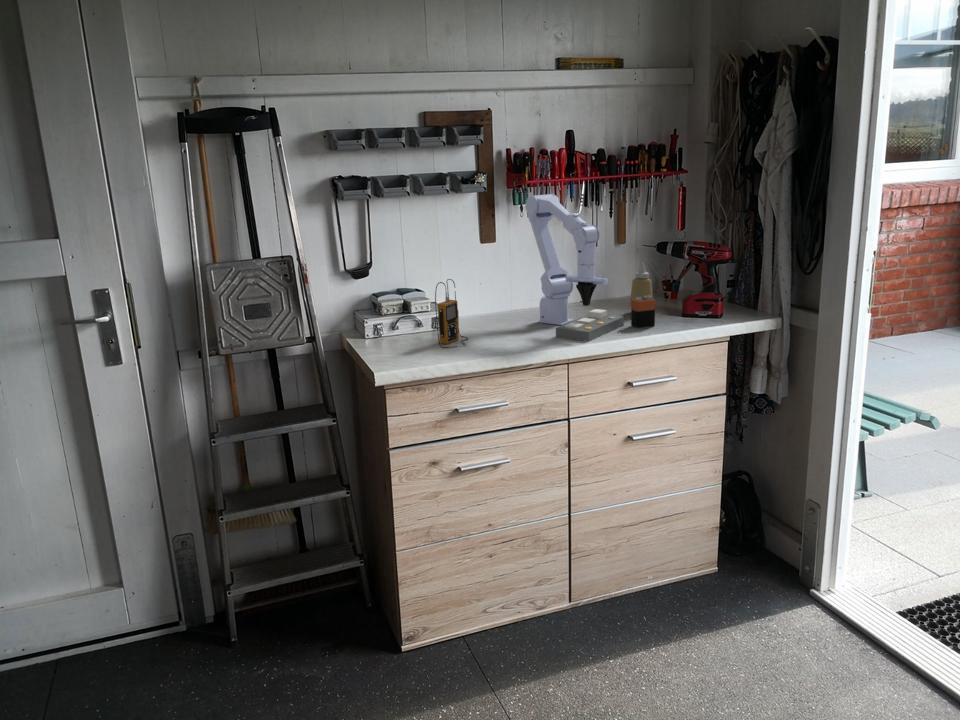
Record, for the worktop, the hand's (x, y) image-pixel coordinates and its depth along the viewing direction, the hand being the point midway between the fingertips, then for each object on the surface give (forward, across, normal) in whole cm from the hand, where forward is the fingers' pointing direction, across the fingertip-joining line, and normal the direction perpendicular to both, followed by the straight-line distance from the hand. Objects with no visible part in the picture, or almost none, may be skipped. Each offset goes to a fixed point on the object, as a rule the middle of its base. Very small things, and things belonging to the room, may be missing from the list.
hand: (586, 305), depth 255 cm
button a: (+8, 0, -8) cm, 11 cm away
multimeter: (+9, -27, -33) cm, 44 cm away
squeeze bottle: (+9, +5, +32) cm, 33 cm away
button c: (+6, 0, +8) cm, 10 cm away
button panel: (+8, +2, 0) cm, 9 cm away
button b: (+8, 0, 0) cm, 8 cm away
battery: (+9, +14, +14) cm, 21 cm away
